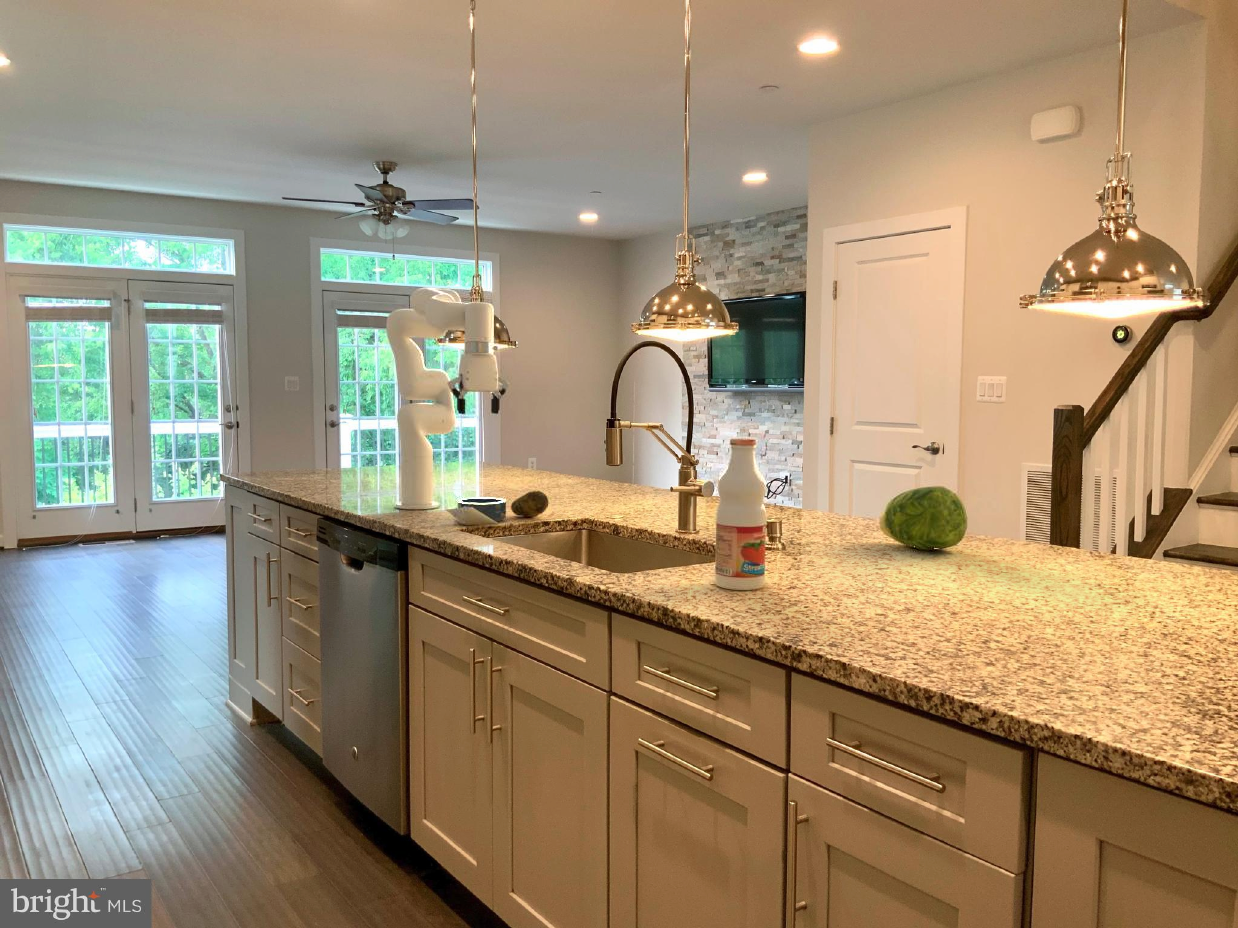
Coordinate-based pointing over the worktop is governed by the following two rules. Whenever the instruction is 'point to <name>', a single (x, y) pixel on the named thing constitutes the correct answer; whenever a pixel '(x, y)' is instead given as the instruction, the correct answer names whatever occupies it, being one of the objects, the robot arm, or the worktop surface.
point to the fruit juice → (741, 521)
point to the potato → (530, 504)
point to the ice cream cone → (471, 516)
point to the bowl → (486, 507)
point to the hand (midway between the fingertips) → (478, 413)
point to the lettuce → (925, 518)
